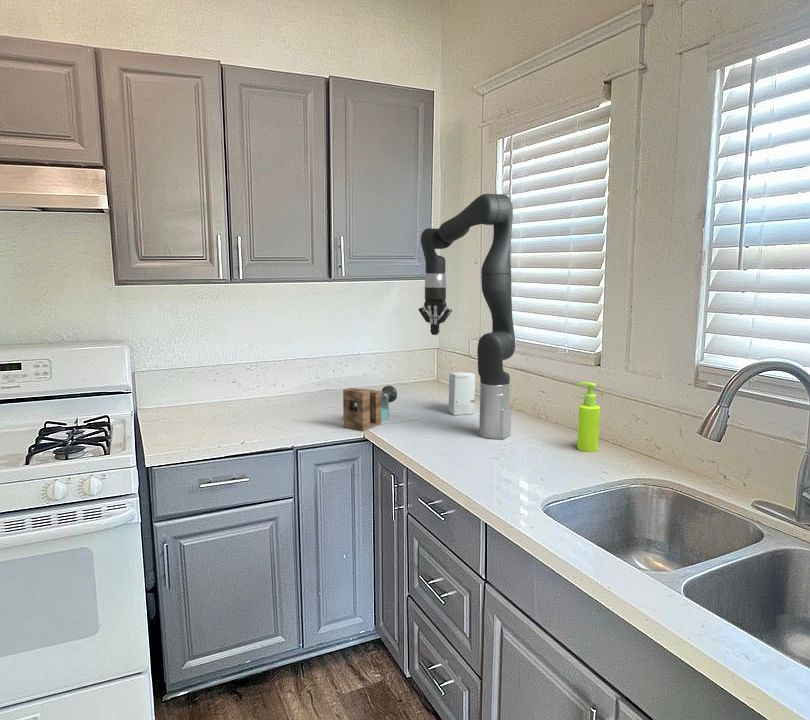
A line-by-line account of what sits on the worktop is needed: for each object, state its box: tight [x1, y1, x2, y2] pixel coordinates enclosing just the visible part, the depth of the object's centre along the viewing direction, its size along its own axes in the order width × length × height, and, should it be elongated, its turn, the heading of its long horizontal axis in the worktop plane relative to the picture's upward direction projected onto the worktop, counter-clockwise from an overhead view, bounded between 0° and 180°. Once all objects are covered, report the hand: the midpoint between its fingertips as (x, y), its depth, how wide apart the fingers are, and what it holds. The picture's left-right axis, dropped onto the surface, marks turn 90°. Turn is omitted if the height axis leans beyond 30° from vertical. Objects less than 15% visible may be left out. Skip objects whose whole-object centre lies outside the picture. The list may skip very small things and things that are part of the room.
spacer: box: [381, 408, 389, 423], centre depth 213 cm, size 5×6×4 cm
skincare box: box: [447, 371, 476, 416], centre depth 222 cm, size 8×6×15 cm
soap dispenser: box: [576, 381, 601, 453], centre depth 180 cm, size 6×7×20 cm
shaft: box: [352, 385, 398, 418], centre depth 210 cm, size 6×21×10 cm, turn 147°
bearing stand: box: [342, 387, 382, 432], centre depth 205 cm, size 8×10×13 cm
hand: (434, 334), depth 218 cm, fingers closed
